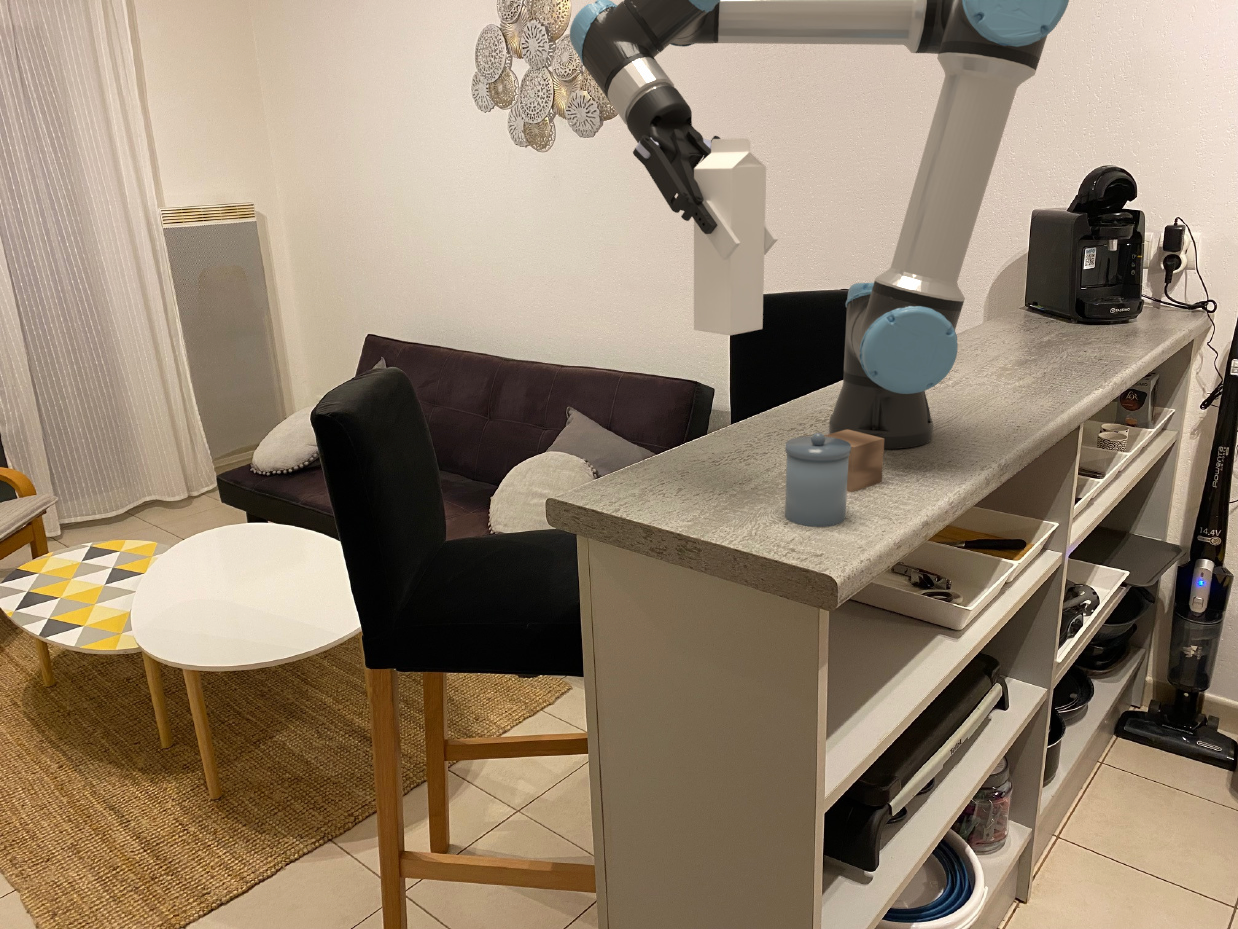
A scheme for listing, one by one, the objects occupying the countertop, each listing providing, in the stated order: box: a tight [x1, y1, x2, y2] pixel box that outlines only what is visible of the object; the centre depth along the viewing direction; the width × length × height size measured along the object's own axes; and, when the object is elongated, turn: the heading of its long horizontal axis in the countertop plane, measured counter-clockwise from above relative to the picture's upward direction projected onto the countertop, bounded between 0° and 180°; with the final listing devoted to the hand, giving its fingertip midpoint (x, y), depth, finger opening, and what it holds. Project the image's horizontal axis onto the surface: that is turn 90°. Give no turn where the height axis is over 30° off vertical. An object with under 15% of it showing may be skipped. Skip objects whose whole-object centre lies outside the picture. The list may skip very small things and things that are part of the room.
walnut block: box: [823, 429, 885, 493], centre depth 123 cm, size 6×6×6 cm
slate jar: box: [784, 432, 851, 528], centre depth 111 cm, size 7×7×10 cm
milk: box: [693, 137, 767, 336], centre depth 112 cm, size 6×6×22 cm
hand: (751, 249), depth 110 cm, fingers closed on milk, 6 cm apart
